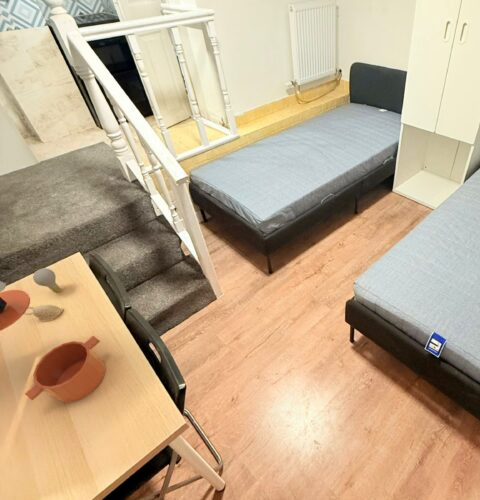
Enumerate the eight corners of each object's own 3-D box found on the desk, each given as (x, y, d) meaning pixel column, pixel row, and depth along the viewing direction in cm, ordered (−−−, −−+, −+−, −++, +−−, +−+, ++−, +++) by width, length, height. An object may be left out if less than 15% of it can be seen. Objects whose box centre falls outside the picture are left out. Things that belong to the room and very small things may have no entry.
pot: (34, 396, 86) (11, 382, 80) (96, 342, 97) (80, 326, 91) (61, 421, 82) (39, 408, 76) (123, 362, 92) (108, 346, 86)
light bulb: (45, 293, 111) (25, 273, 104) (62, 282, 114) (43, 262, 107) (53, 300, 109) (33, 280, 101) (70, 289, 112) (52, 269, 105)
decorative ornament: (59, 319, 103) (48, 309, 99) (30, 323, 102) (19, 313, 99) (64, 308, 106) (54, 298, 102) (36, 312, 105) (25, 302, 101)
